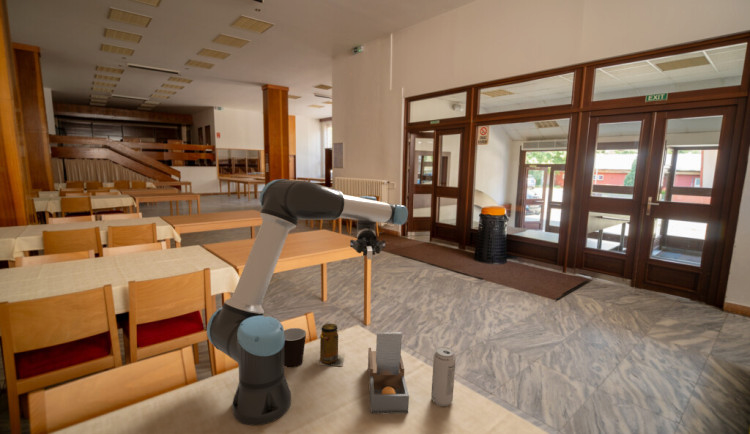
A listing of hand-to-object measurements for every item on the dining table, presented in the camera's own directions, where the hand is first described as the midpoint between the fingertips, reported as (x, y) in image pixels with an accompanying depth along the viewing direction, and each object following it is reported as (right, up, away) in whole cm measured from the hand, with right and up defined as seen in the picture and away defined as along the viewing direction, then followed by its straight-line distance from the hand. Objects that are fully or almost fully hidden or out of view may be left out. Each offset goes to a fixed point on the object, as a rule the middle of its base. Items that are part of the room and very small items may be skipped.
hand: (369, 255), depth 108 cm
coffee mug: (-26, -36, +9) cm, 45 cm away
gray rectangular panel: (+5, -33, -8) cm, 35 cm away
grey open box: (+5, -40, -11) cm, 42 cm away
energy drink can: (+21, -41, -10) cm, 47 cm away
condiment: (-13, -37, +9) cm, 40 cm away
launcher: (+5, -39, -1) cm, 39 cm away
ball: (+5, -37, -12) cm, 40 cm away
